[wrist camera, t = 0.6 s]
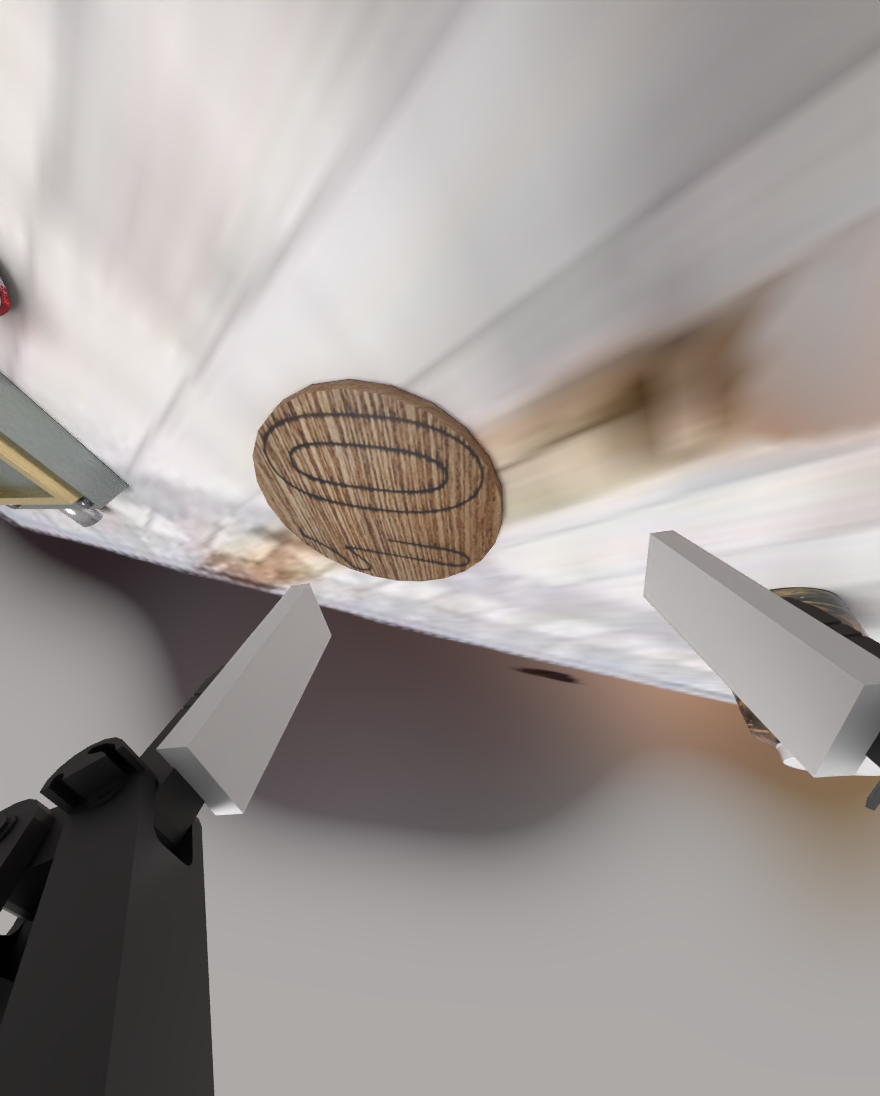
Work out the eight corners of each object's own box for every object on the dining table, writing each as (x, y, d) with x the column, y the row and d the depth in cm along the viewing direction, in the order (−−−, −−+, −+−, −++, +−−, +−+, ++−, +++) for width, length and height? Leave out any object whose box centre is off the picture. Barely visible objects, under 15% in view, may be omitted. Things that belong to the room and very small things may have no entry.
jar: (823, 633, 39) (918, 785, 29) (703, 638, 44) (751, 769, 35) (859, 580, 31) (1002, 762, 22) (708, 594, 36) (772, 745, 27)
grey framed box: (-139, 353, 30) (-220, 377, 26) (-43, 334, 26) (-122, 359, 23) (78, 510, 45) (44, 537, 41) (155, 510, 42) (125, 539, 38)
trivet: (494, 578, 42) (493, 590, 40) (316, 560, 45) (311, 571, 44) (518, 378, 22) (518, 390, 21) (207, 375, 26) (192, 386, 25)
